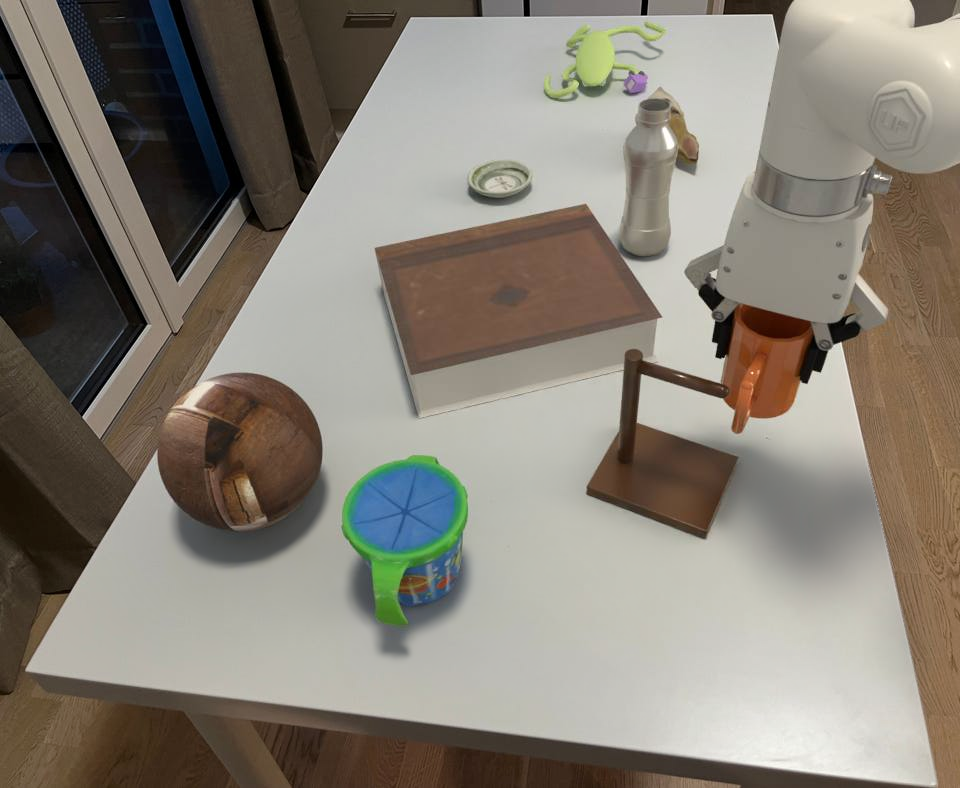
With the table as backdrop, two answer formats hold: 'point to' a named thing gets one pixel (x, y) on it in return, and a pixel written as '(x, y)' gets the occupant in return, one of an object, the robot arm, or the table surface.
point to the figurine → (602, 59)
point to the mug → (763, 363)
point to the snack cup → (407, 532)
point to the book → (512, 308)
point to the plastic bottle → (648, 179)
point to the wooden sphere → (239, 451)
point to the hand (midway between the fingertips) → (765, 359)
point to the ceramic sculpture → (679, 129)
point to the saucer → (499, 178)
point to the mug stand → (663, 459)
